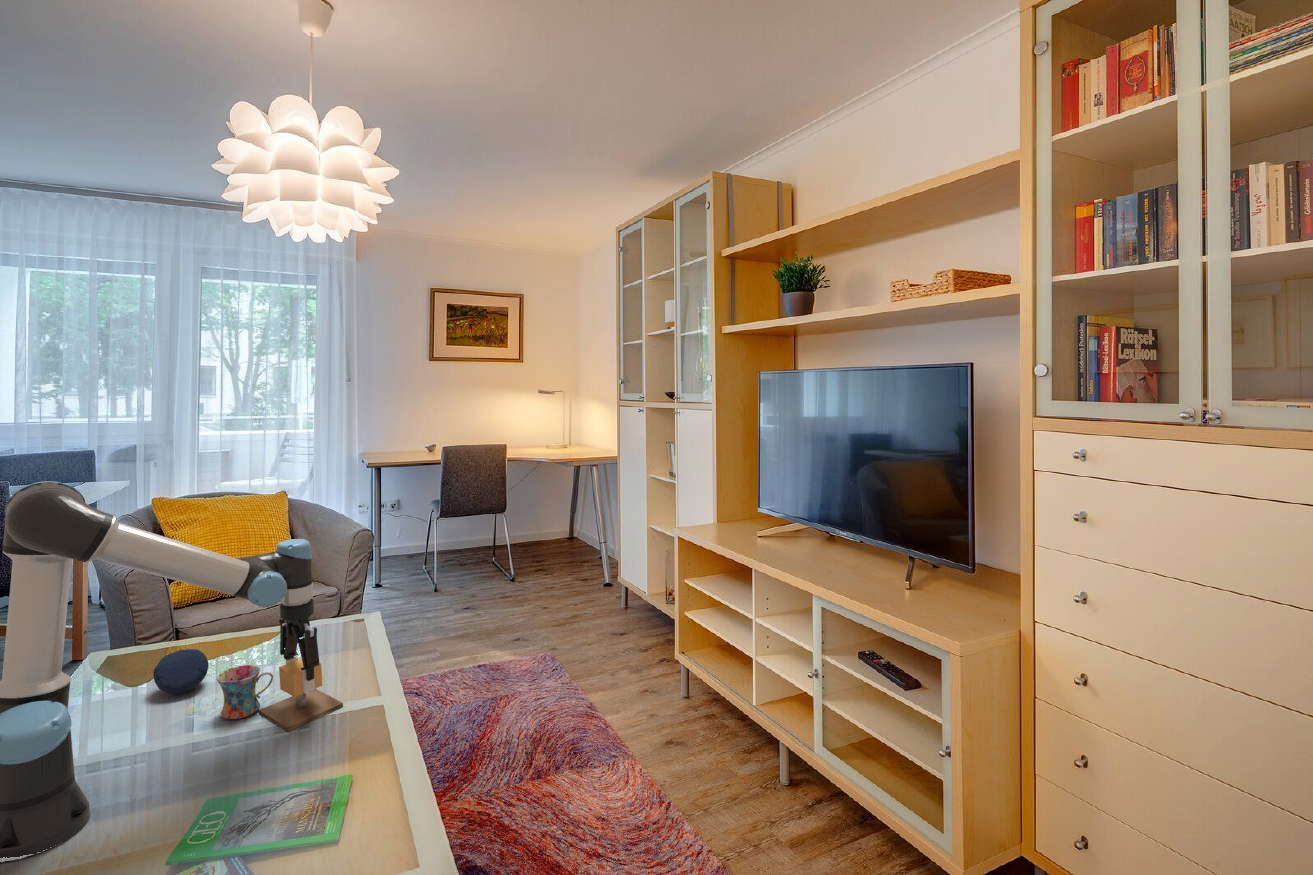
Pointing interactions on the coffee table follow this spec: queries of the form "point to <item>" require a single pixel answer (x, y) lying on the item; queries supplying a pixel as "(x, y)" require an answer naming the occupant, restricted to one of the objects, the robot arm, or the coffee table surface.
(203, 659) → the decorative stone
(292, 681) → the tan cardboard box
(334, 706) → the post board
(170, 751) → the coffee table surface
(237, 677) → the mug
